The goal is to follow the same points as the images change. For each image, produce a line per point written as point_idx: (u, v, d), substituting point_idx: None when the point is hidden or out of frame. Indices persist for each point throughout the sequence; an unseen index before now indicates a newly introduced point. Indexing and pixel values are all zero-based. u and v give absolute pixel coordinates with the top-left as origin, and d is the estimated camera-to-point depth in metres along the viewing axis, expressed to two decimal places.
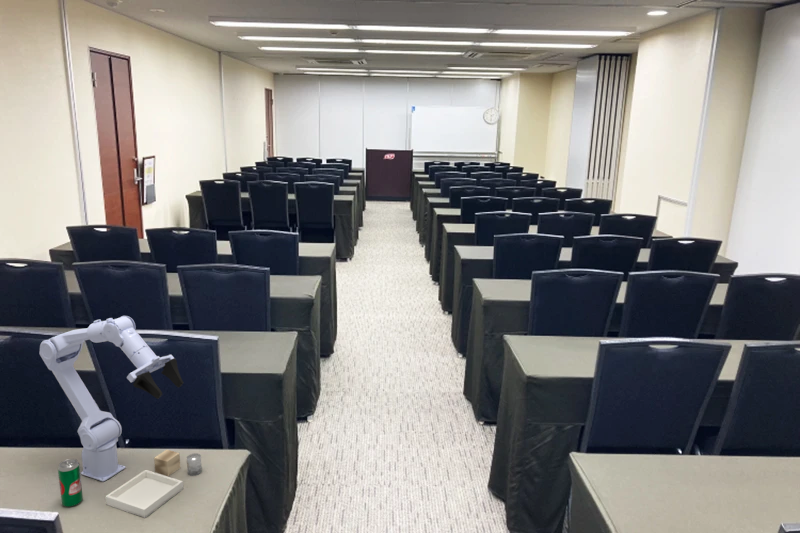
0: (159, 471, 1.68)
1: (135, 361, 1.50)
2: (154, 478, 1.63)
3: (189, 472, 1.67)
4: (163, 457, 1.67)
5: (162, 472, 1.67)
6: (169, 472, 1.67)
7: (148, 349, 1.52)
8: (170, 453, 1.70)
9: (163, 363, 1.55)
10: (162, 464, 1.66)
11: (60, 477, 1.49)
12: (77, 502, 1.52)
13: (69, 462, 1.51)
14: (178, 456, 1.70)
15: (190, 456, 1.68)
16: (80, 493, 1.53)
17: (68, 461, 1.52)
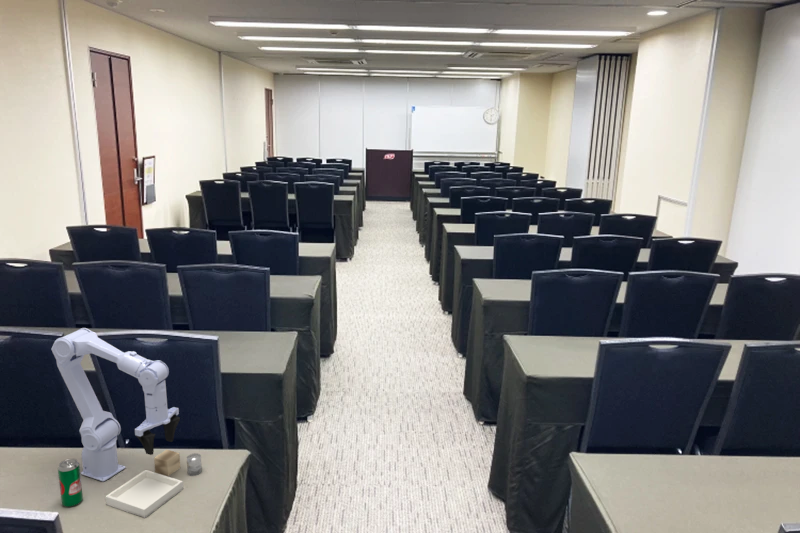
0: (159, 471, 1.68)
1: (149, 414, 1.57)
2: (154, 478, 1.63)
3: (189, 472, 1.67)
4: (163, 457, 1.67)
5: (162, 472, 1.67)
6: (169, 472, 1.67)
7: (165, 408, 1.59)
8: (170, 453, 1.70)
9: None
10: (162, 464, 1.66)
11: (60, 477, 1.49)
12: (77, 502, 1.52)
13: (69, 462, 1.51)
14: (178, 456, 1.70)
15: (190, 456, 1.68)
16: (80, 493, 1.53)
17: (68, 461, 1.52)
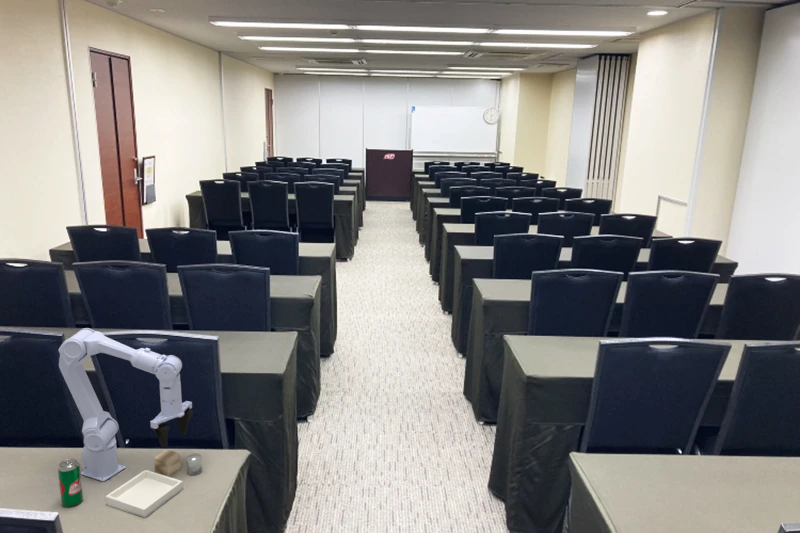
0: (159, 471, 1.68)
1: (164, 407, 1.62)
2: (154, 478, 1.63)
3: (189, 472, 1.67)
4: (163, 457, 1.67)
5: (162, 472, 1.67)
6: (169, 472, 1.67)
7: (180, 402, 1.64)
8: (170, 453, 1.70)
9: None
10: (162, 464, 1.66)
11: (60, 477, 1.49)
12: (77, 502, 1.52)
13: (69, 462, 1.51)
14: (178, 456, 1.70)
15: (190, 456, 1.68)
16: (80, 493, 1.53)
17: (68, 461, 1.52)
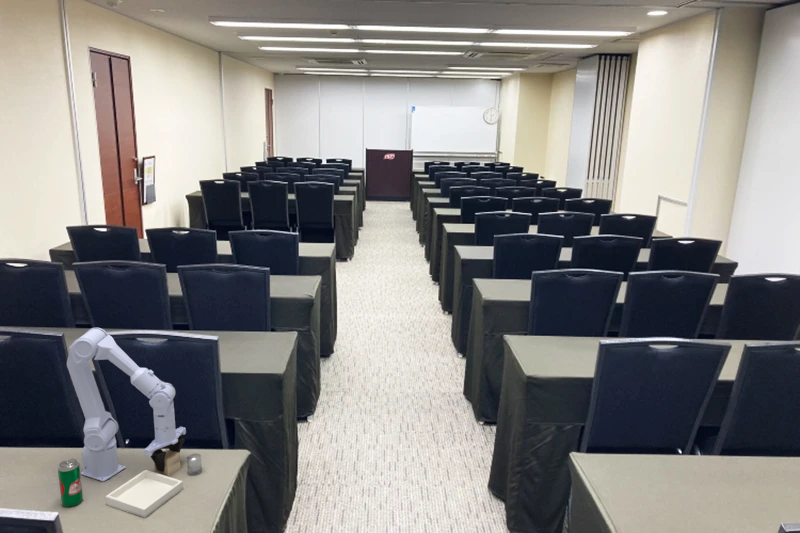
0: (159, 471, 1.68)
1: (158, 434, 1.64)
2: (154, 478, 1.63)
3: (189, 472, 1.67)
4: None
5: (162, 472, 1.67)
6: (169, 472, 1.67)
7: (173, 429, 1.66)
8: (170, 453, 1.70)
9: (175, 436, 1.71)
10: None
11: (60, 477, 1.49)
12: (77, 502, 1.52)
13: (69, 462, 1.51)
14: (178, 456, 1.70)
15: (190, 456, 1.68)
16: (80, 493, 1.53)
17: (68, 461, 1.52)
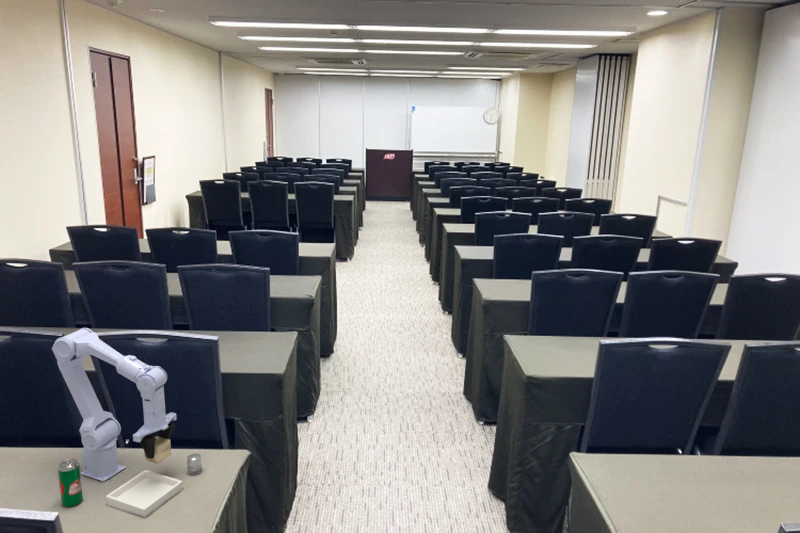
0: (149, 458, 1.61)
1: (147, 419, 1.57)
2: (154, 478, 1.63)
3: (189, 472, 1.67)
4: None
5: (152, 459, 1.60)
6: (159, 459, 1.60)
7: (163, 414, 1.60)
8: (160, 440, 1.63)
9: None
10: None
11: (60, 477, 1.49)
12: (77, 502, 1.52)
13: (69, 462, 1.51)
14: (169, 443, 1.63)
15: (190, 456, 1.68)
16: (80, 493, 1.53)
17: (68, 461, 1.52)
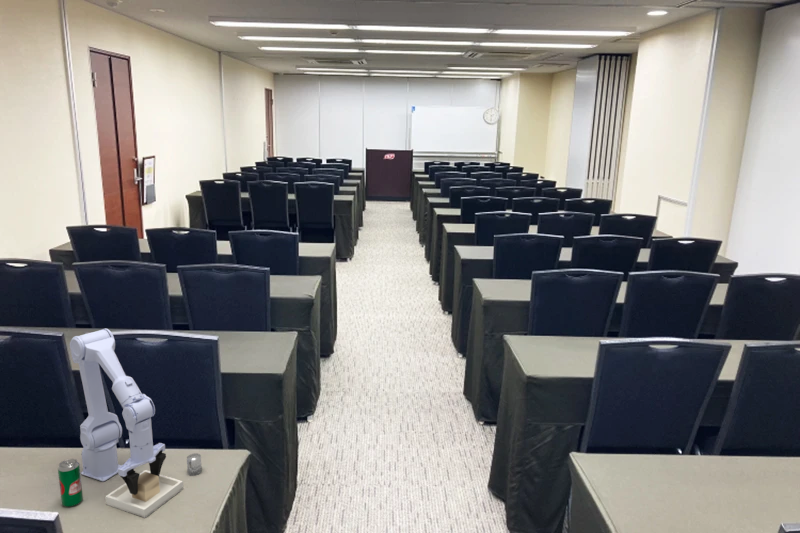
0: (136, 496, 1.55)
1: (133, 452, 1.51)
2: None
3: (189, 472, 1.67)
4: (140, 481, 1.54)
5: (139, 497, 1.54)
6: (147, 497, 1.54)
7: (150, 446, 1.53)
8: (148, 476, 1.57)
9: None
10: (139, 488, 1.53)
11: (60, 477, 1.49)
12: (77, 502, 1.52)
13: (69, 462, 1.51)
14: (157, 479, 1.57)
15: (190, 456, 1.68)
16: (80, 493, 1.53)
17: (68, 461, 1.52)
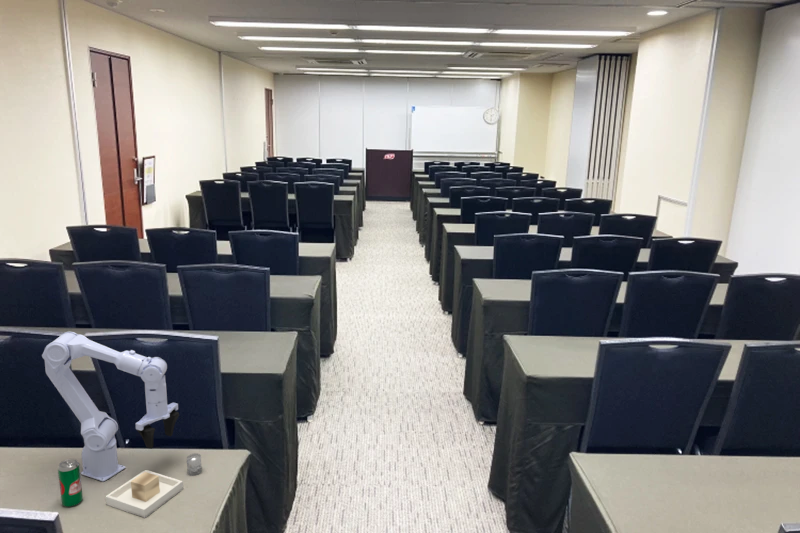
0: (136, 496, 1.55)
1: (149, 409, 1.63)
2: None
3: (189, 472, 1.67)
4: (140, 481, 1.54)
5: (139, 497, 1.54)
6: (147, 497, 1.54)
7: (165, 403, 1.65)
8: (148, 476, 1.57)
9: None
10: (139, 488, 1.53)
11: (60, 477, 1.49)
12: (77, 502, 1.52)
13: (69, 462, 1.51)
14: (157, 479, 1.57)
15: (190, 456, 1.68)
16: (80, 493, 1.53)
17: (68, 461, 1.52)
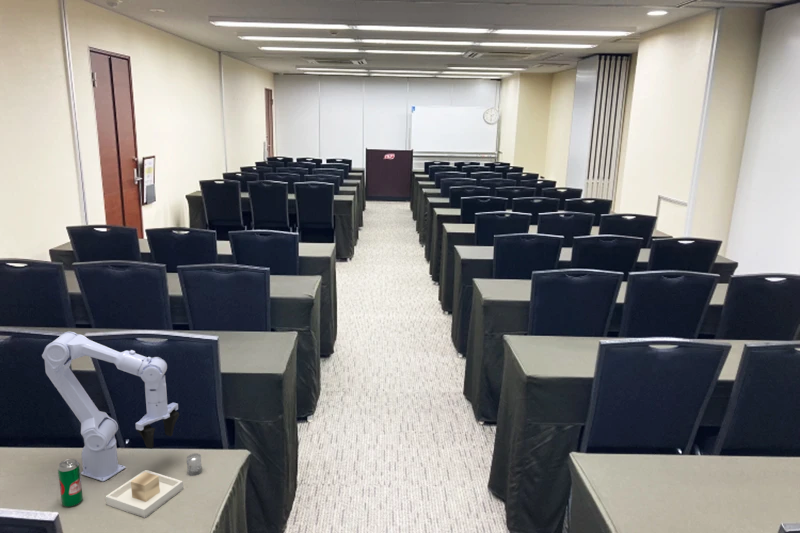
0: (136, 496, 1.55)
1: (149, 409, 1.63)
2: None
3: (189, 472, 1.67)
4: (140, 481, 1.54)
5: (139, 497, 1.54)
6: (147, 497, 1.54)
7: (165, 403, 1.65)
8: (148, 476, 1.57)
9: None
10: (139, 488, 1.53)
11: (60, 477, 1.49)
12: (77, 502, 1.52)
13: (69, 462, 1.51)
14: (157, 479, 1.57)
15: (190, 456, 1.68)
16: (80, 493, 1.53)
17: (68, 461, 1.52)
